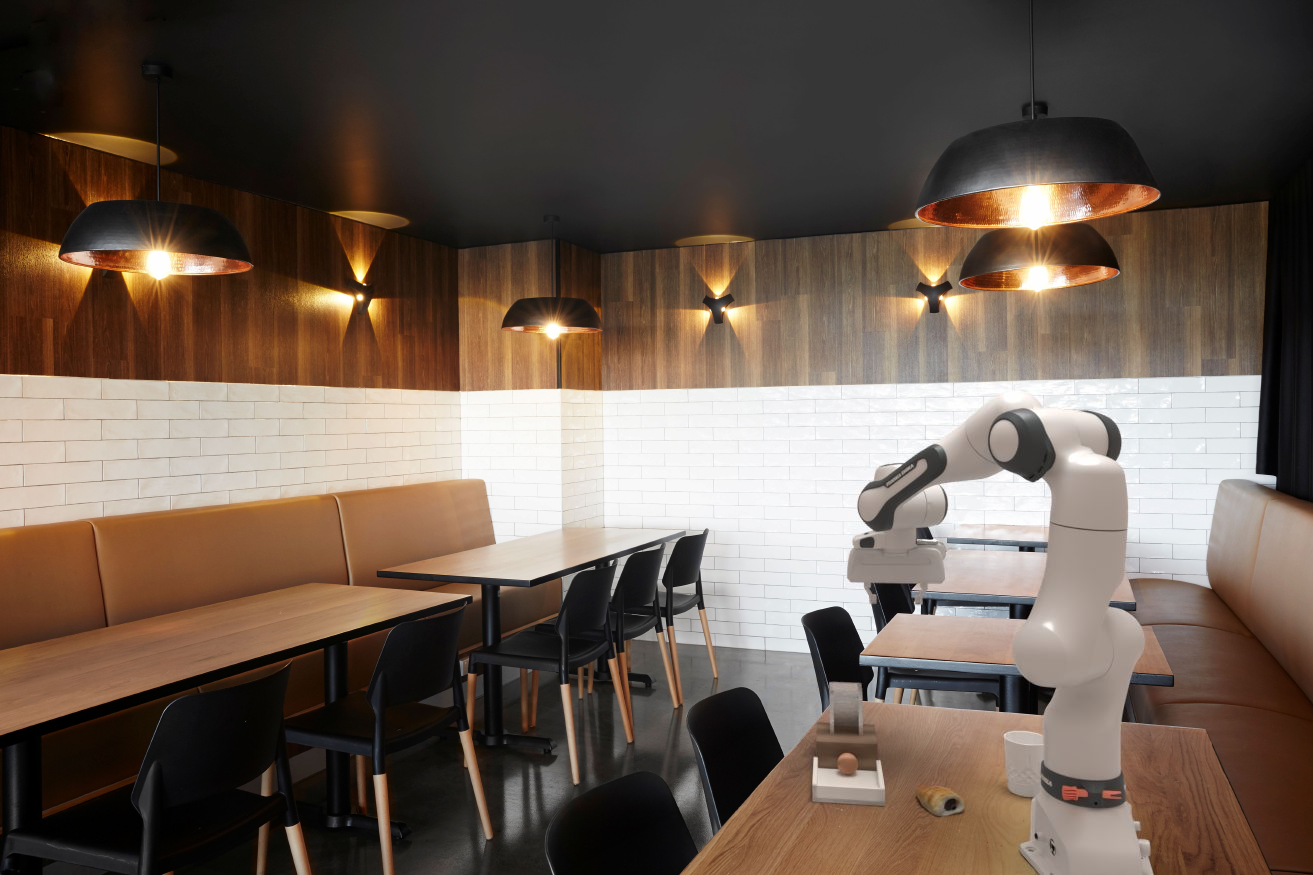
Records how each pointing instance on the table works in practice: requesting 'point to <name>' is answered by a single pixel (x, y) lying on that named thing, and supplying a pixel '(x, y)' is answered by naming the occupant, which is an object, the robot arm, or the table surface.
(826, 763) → the step block
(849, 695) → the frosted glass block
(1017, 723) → the table surface
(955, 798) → the pastry
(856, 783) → the tray
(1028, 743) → the white cup
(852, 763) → the ball
